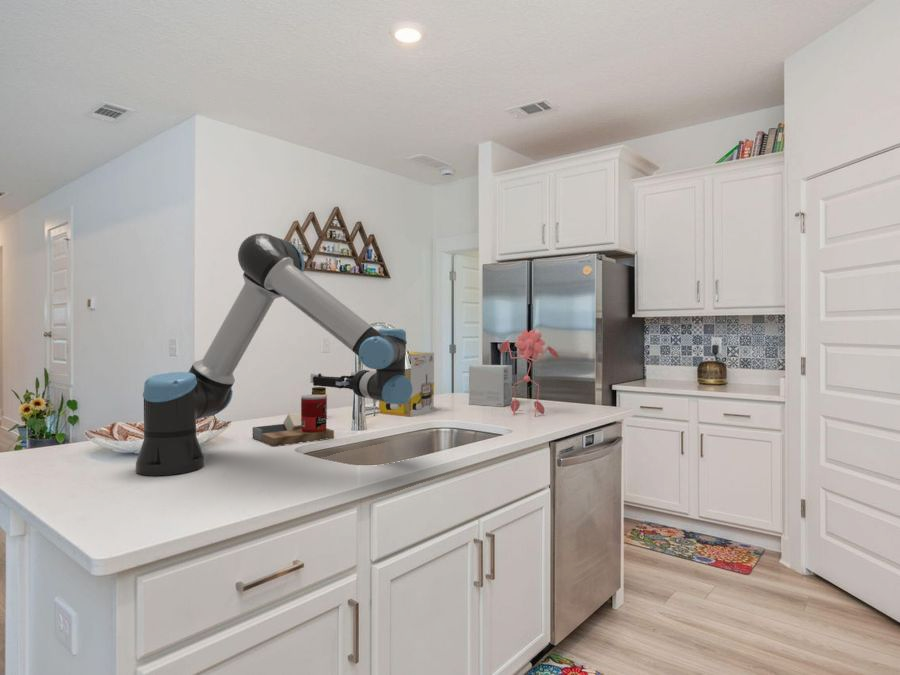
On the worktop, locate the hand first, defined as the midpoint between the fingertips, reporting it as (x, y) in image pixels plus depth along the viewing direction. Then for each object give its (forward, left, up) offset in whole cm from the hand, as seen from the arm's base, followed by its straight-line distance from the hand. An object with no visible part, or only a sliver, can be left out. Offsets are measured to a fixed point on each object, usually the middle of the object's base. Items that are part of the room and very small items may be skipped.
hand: (332, 377), depth 170 cm
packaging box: (+54, +36, -20) cm, 69 cm away
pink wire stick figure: (+92, +2, -20) cm, 95 cm away
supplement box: (+100, +33, -20) cm, 108 cm away
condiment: (+18, +45, -20) cm, 53 cm away
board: (-6, +11, -20) cm, 24 cm away
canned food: (-1, +11, -18) cm, 21 cm away
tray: (-6, +19, -20) cm, 29 cm away
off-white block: (-3, +18, -18) cm, 25 cm away
